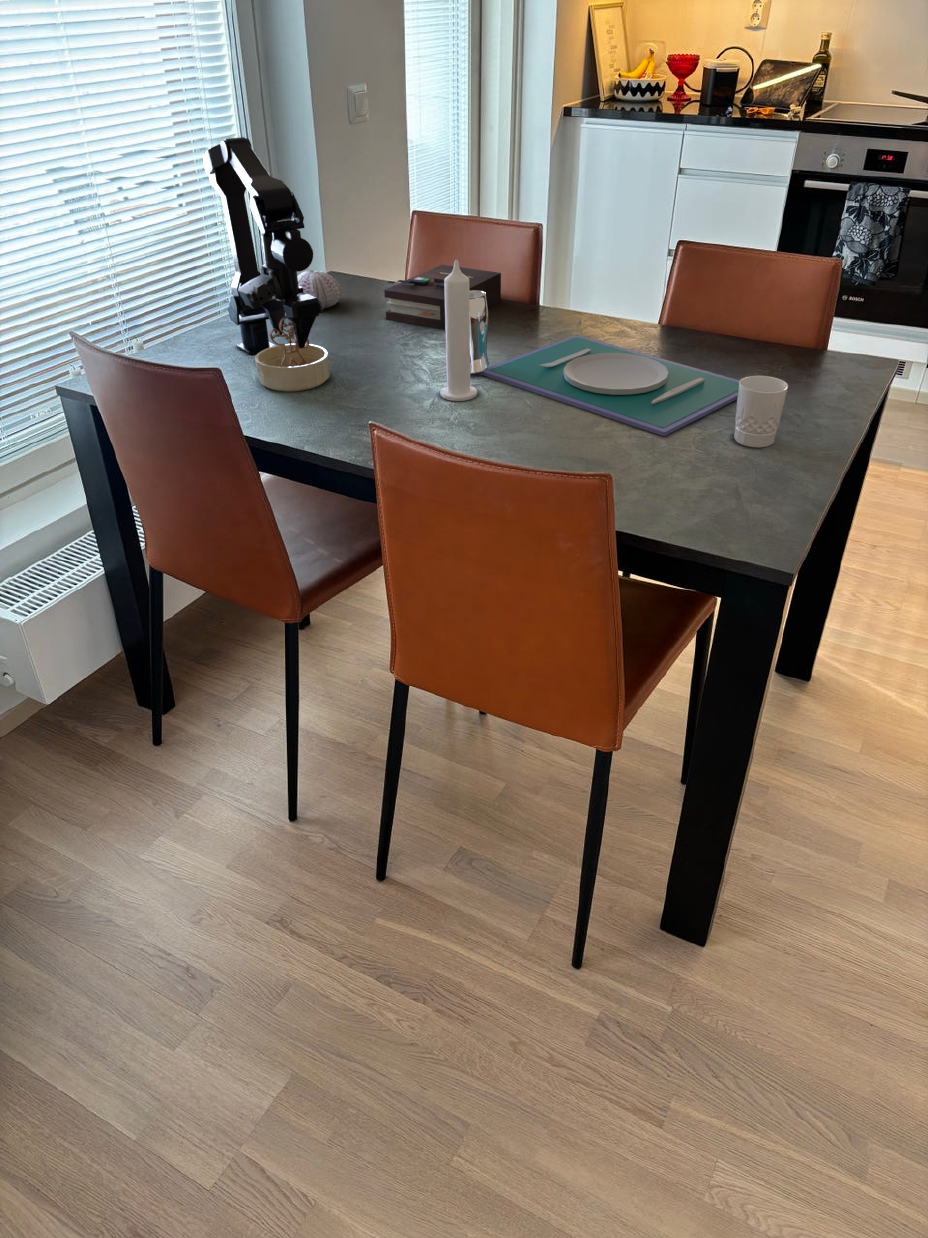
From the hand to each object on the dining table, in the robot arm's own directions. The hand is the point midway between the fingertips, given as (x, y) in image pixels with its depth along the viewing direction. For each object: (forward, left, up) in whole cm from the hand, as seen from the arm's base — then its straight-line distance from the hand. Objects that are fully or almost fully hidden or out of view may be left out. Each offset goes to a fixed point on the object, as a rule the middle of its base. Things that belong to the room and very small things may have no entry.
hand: (290, 341), depth 184 cm
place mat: (+41, +49, -8) cm, 64 cm away
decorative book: (-19, +51, -8) cm, 55 cm away
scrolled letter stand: (0, 0, -7) cm, 7 cm away
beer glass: (+19, +31, -8) cm, 37 cm away
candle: (+27, +21, -8) cm, 35 cm away
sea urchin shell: (-43, +29, -8) cm, 52 cm away
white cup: (+76, +48, -8) cm, 90 cm away
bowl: (0, 0, -8) cm, 8 cm away
